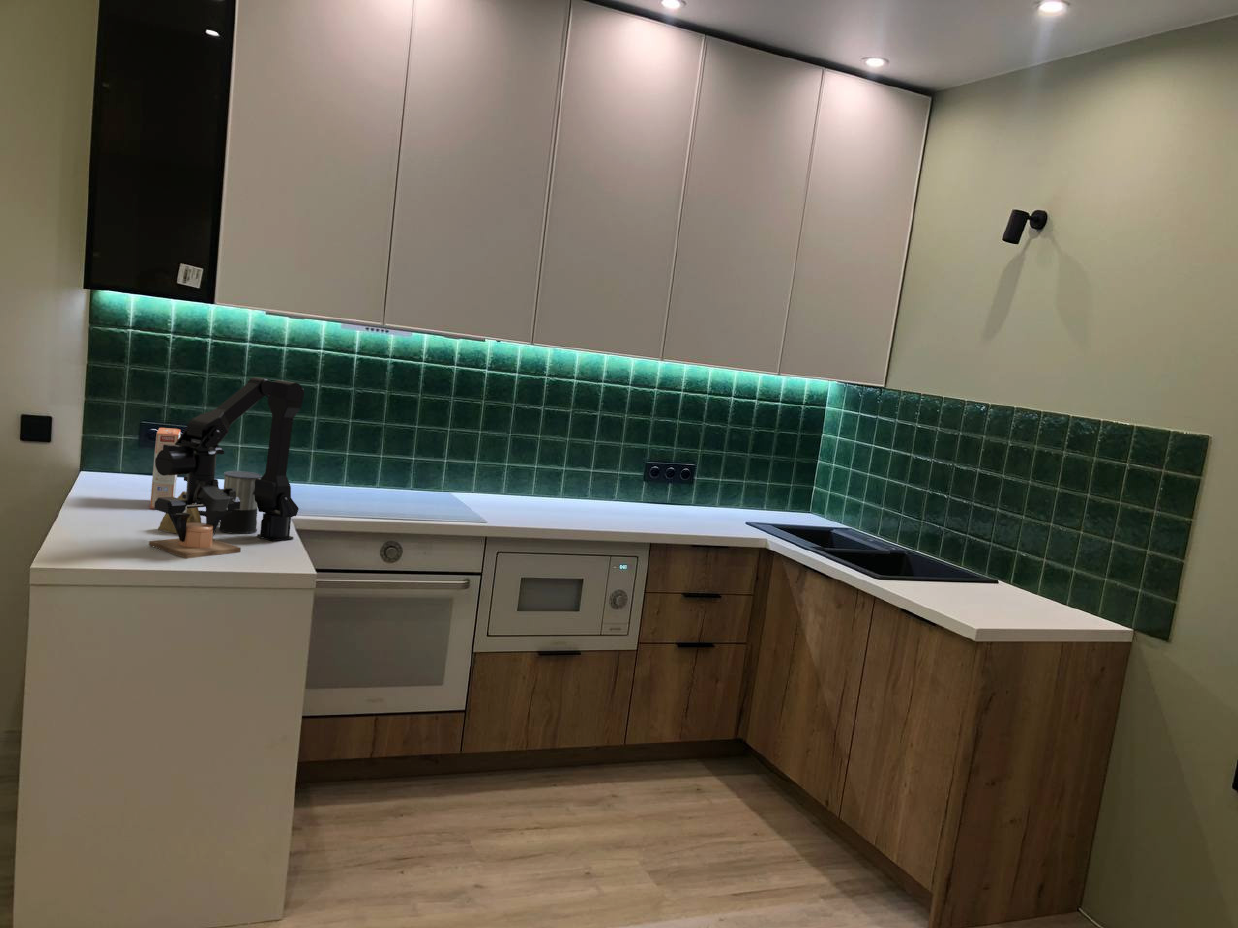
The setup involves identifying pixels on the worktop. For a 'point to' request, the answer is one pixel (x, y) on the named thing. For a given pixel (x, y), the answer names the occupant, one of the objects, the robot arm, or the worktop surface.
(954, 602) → the worktop surface
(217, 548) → the wooden peg board
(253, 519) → the milk frother
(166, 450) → the robot arm
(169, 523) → the rock
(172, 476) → the cracker box
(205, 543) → the cap
